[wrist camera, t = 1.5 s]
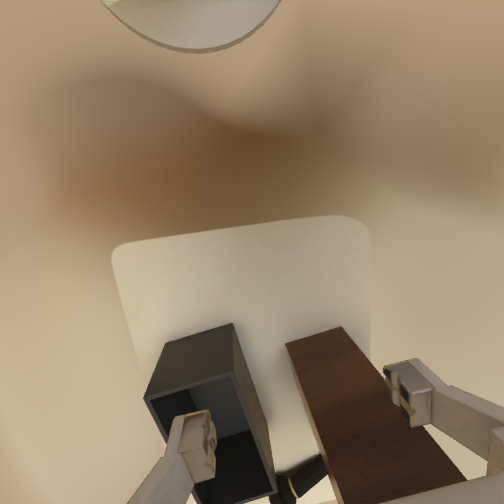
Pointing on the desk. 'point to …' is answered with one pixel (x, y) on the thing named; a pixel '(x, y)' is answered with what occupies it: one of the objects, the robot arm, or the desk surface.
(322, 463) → the microphone
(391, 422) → the stand
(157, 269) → the desk surface
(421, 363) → the robot arm
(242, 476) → the bin
